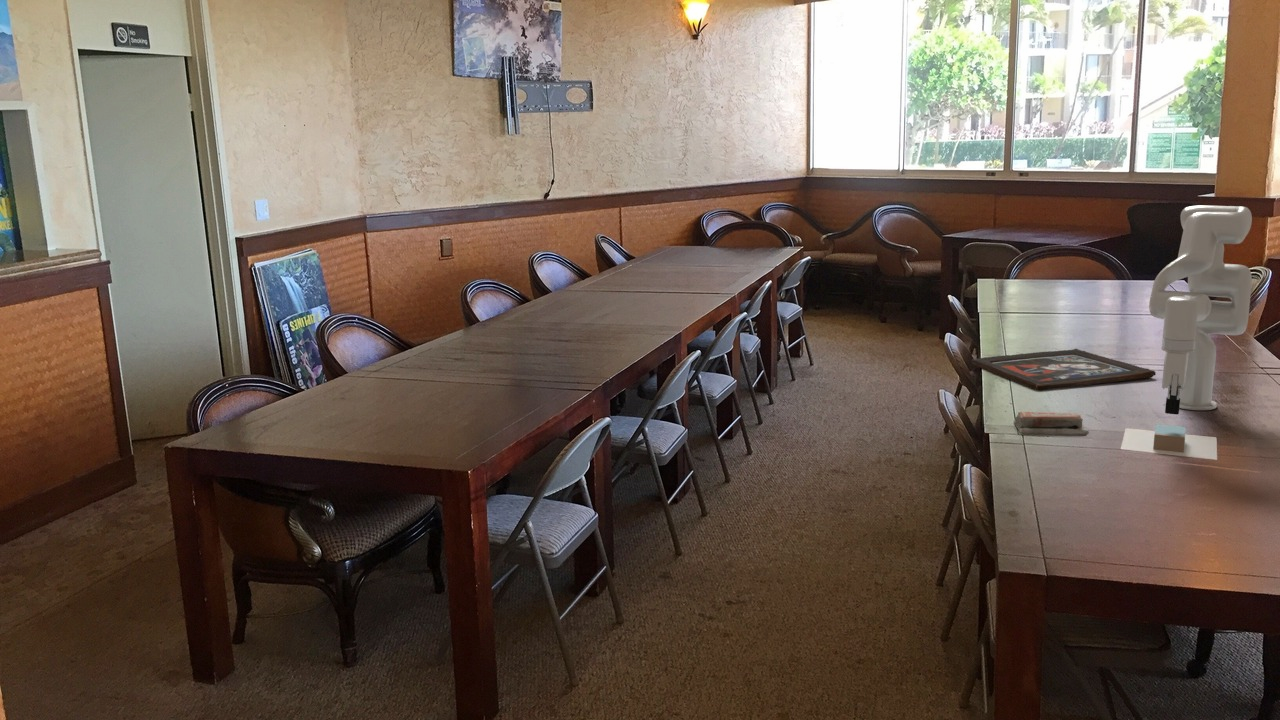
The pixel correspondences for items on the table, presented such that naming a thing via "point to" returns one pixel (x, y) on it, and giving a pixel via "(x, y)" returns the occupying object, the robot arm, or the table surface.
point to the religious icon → (1061, 369)
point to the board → (1192, 448)
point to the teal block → (1169, 438)
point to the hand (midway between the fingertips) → (1171, 413)
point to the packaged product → (1050, 423)
